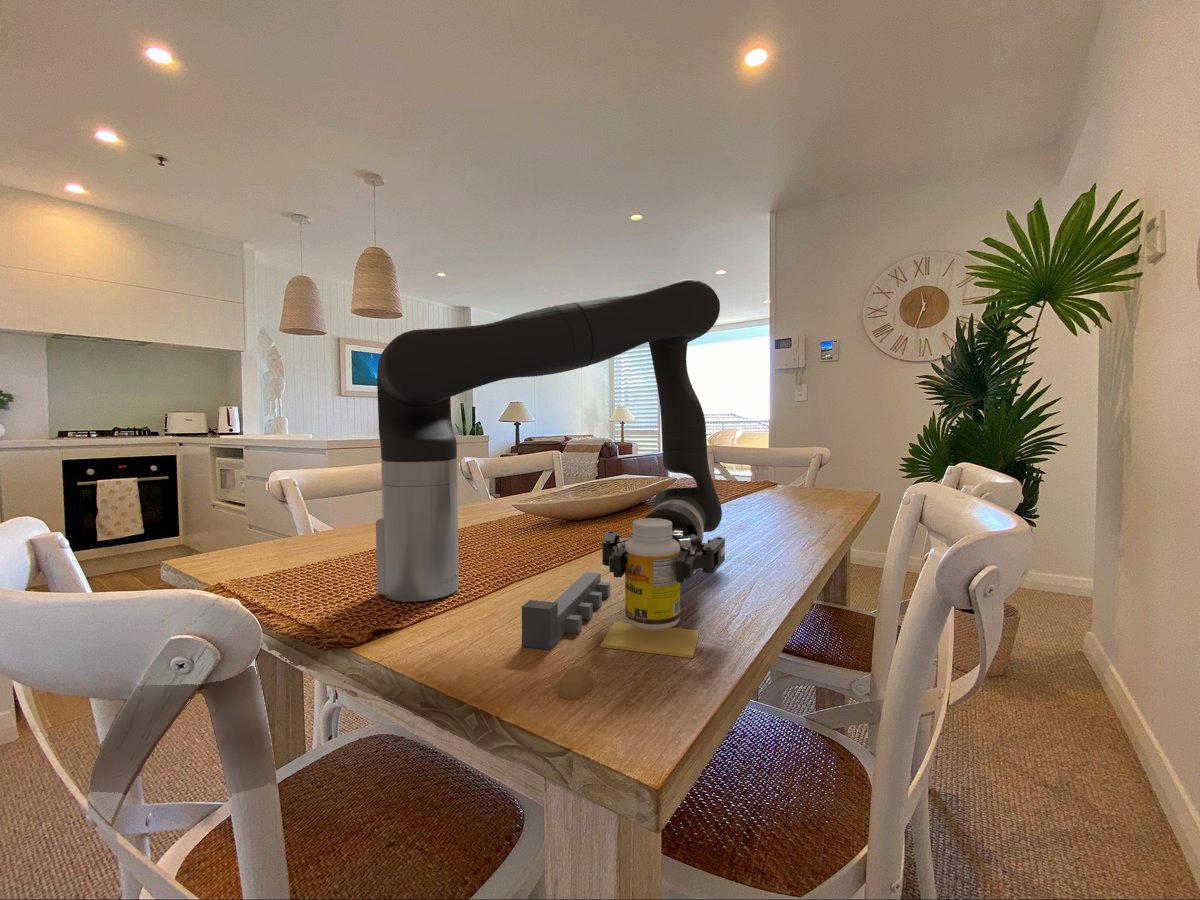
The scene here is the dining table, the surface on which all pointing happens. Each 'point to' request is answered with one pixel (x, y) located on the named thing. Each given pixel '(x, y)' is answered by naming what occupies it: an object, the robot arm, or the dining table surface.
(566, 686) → the potato
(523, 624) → the cable comb
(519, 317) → the robot arm
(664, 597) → the supplement bottle
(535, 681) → the dining table surface
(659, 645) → the yellow sticky note
